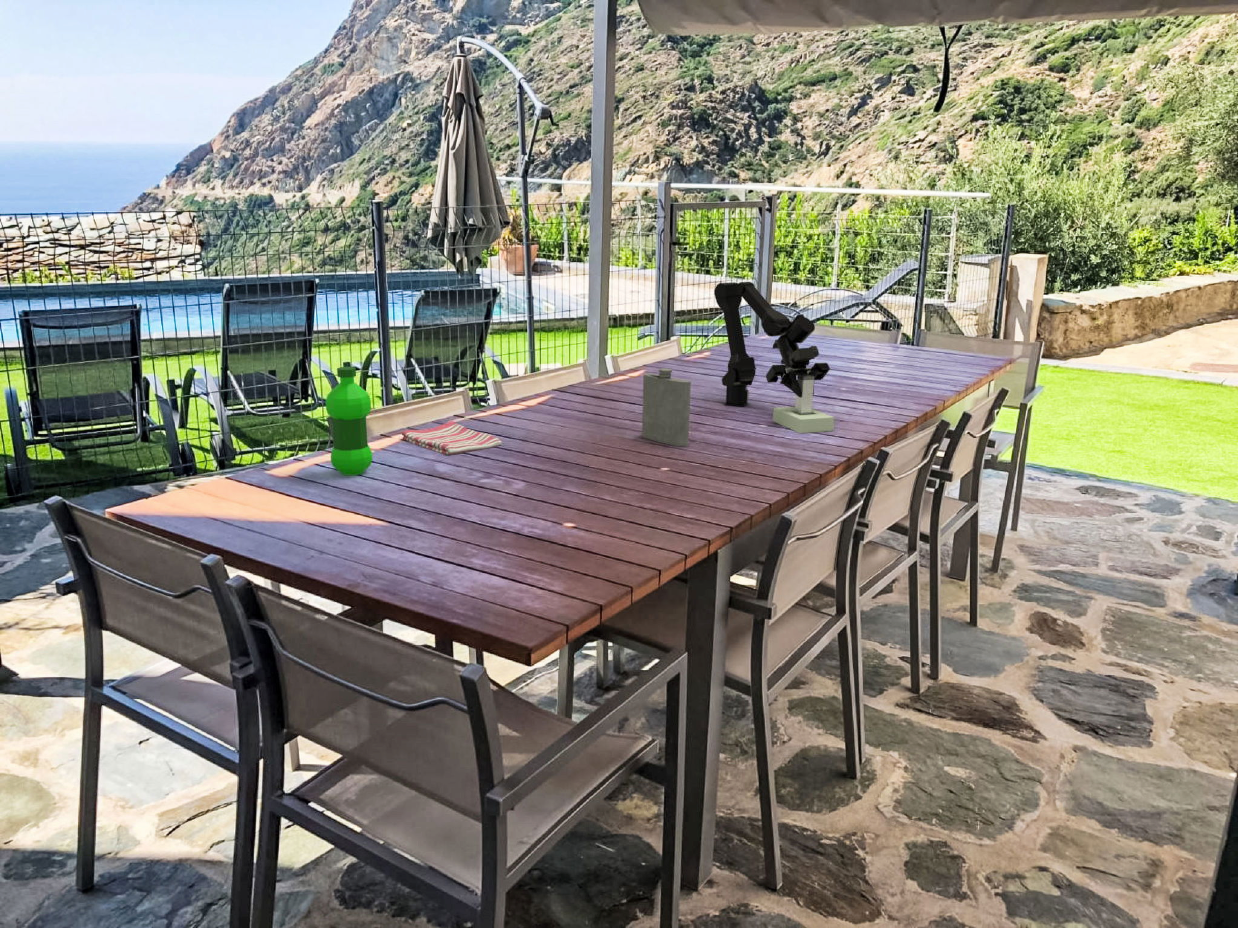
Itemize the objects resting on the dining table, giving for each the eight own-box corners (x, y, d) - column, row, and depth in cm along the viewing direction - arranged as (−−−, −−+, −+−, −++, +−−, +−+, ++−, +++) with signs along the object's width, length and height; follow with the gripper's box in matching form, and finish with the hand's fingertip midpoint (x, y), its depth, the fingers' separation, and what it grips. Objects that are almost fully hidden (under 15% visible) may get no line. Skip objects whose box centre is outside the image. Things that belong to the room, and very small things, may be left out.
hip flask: (690, 445, 257) (693, 371, 252) (681, 447, 255) (683, 373, 249) (647, 434, 268) (649, 364, 263) (637, 436, 265) (639, 365, 260)
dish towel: (452, 431, 270) (452, 419, 269) (503, 447, 254) (502, 434, 253) (400, 441, 258) (399, 428, 257) (449, 458, 242) (449, 445, 241)
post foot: (772, 421, 287) (773, 408, 286) (804, 418, 290) (805, 405, 289) (800, 433, 272) (801, 419, 271) (833, 430, 276) (834, 417, 275)
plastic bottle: (321, 475, 224) (313, 370, 217) (348, 464, 233) (342, 363, 227) (356, 480, 220) (350, 373, 214) (383, 469, 230) (378, 366, 223)
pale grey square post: (794, 418, 282) (797, 374, 278) (804, 417, 283) (808, 374, 279) (800, 420, 279) (803, 376, 275) (810, 420, 280) (814, 376, 276)
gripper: (773, 337, 275) (789, 382, 268) (829, 335, 281) (846, 379, 274) (758, 359, 284) (774, 403, 277) (813, 357, 290) (829, 400, 283)
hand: (806, 396), depth 278 cm, fingers closed on pale grey square post, 3 cm apart
